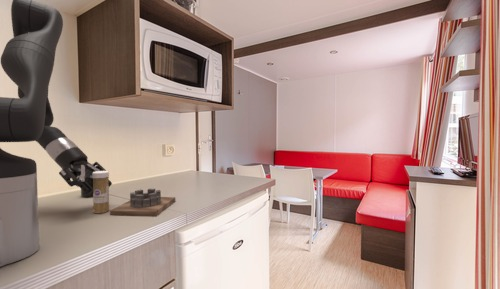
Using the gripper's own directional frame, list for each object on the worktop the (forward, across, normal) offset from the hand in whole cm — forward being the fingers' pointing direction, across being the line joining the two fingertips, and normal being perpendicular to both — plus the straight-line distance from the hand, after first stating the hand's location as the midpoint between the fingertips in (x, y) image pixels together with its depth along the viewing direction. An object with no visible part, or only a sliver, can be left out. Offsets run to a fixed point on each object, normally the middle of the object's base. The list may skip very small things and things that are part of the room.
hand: (101, 188), depth 73 cm
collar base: (+14, +5, -4) cm, 16 cm away
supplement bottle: (-7, +18, +18) cm, 27 cm away
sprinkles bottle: (+6, 0, +5) cm, 8 cm away
